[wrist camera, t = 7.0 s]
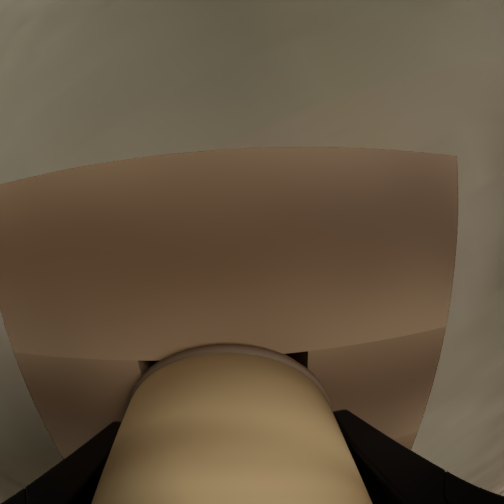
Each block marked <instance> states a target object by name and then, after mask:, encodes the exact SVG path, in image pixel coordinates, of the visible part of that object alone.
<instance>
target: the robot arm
mask: <svg viewBox="0 0 504 504" xmlns="http://www.w3.org/2000/svg"><path fill="white" fill-rule="evenodd" d="M333 414H334V417H335V419H336V421H337V423H338V426H339V428H340V430H341V433H342V435H343V437H344V439H345V442H346V444H347V446H348V448H349V451H350V453H351V455H352V458H353V460H354V462H355V464H356V467H357V469H358V471H359V474H360V476H361V478H362V481H363V483H364V485H365V487H366V490H367V492H368V494H369V497H370V499H371V501H372V504H504V496H501V495H498V494H495V493H492V492H489V491H487V490H484V489H482V488H479V487H477V486H475V485H472V484H470V483H468V482H466V481H464V480H462V479H460V478H458V477H456V476H455V475H453V474H451V473H449V472H445V470H444V469H442V468H440V467H438V466H437V465H435V464H433V463H431V462H430V461H428V460H426V459H425V458H423V457H421V456H419V455H418V454H416V453H414V452H413V451H411V450H409V449H408V448H406V447H405V446H403V445H401V444H400V443H398V442H396V441H395V440H393V439H392V438H390V437H388V436H387V435H385V434H384V433H382V432H381V431H379V430H377V429H376V428H374V427H373V426H371V425H370V424H368V423H367V422H365V421H364V420H362V419H361V418H359V417H358V416H356V415H355V414H353V413H352V412H350V411H349V410H346V409H343V410H337V411H333ZM121 423H122V422H121V421H114V422H112V423H111V424H109V425H108V426H107V427H105V428H104V429H103V430H102V431H100V432H99V433H98V434H96V435H95V436H94V437H93V438H91V439H90V440H89V441H87V442H86V443H85V444H83V445H82V446H81V447H80V448H78V449H77V450H76V451H74V452H73V453H72V454H70V455H69V456H68V457H66V458H65V459H64V460H62V461H61V462H60V463H58V464H57V465H56V466H54V467H53V468H51V469H50V470H49V471H47V472H46V473H45V474H43V475H42V476H40V477H39V478H38V479H36V480H35V481H34V482H32V483H31V484H29V485H28V486H26V489H22V490H21V491H19V492H18V493H16V494H15V495H13V496H12V497H10V498H9V499H7V500H6V501H4V502H3V503H1V504H91V503H92V500H93V498H94V495H95V492H96V489H97V486H98V483H99V481H100V478H101V475H102V472H103V470H104V467H105V464H106V462H107V459H108V456H109V454H110V451H111V448H112V446H113V443H114V441H115V438H116V435H117V433H118V430H119V428H120V425H121Z"/></svg>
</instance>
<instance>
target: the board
mask: <svg viewBox="0 0 504 504" xmlns="http://www.w3.org/2000/svg"><path fill="white" fill-rule="evenodd" d="M457 226H458V165H457V156H451V155H443V154H434V153H424V152H413V151H400V150H385V149H367V148H339V147H275V148H247V149H228V150H213V151H200V152H188V153H177V154H168V155H159V156H150V157H142V158H134V159H127V160H120V161H113V162H107V163H100V164H94V165H88V166H83V167H77V168H72V169H67V170H61V171H56V172H52V173H47V174H42V175H38V176H33V177H29V178H25V179H20V180H16V181H12V182H8V183H4V184H0V310H1V313H2V317H3V320H4V324H5V327H6V331H7V334H8V337H9V340H10V343H11V346H12V349H13V352H14V355H15V357H16V360H17V363H18V366H19V368H20V371H21V373H22V376H23V378H24V381H25V383H26V386H27V388H28V390H29V393H30V395H31V397H32V399H33V402H34V404H35V406H36V408H37V410H38V412H39V414H40V416H41V418H42V420H43V422H44V424H45V426H46V428H47V430H48V432H49V434H50V436H51V438H52V439H53V441H54V443H55V445H56V447H57V448H58V450H59V452H60V454H61V455H62V457H63V459H65V458H66V457H68V456H69V455H70V454H72V453H73V452H74V451H76V450H77V449H78V448H80V447H81V446H82V445H83V444H85V443H86V442H87V441H89V440H90V439H91V438H93V437H94V436H95V435H96V434H98V433H99V432H100V431H102V430H103V429H104V428H105V427H107V426H108V425H109V424H111V423H112V422H114V421H121V422H122V420H123V418H124V415H125V413H126V407H127V404H128V400H129V397H130V395H131V393H132V391H133V389H134V387H135V385H136V383H137V381H138V380H139V379H140V377H141V376H142V375H143V374H144V373H145V372H146V371H147V370H148V369H149V368H150V367H151V366H153V365H154V364H156V363H157V362H159V361H160V360H162V359H163V358H165V357H167V356H169V355H171V354H173V353H175V352H177V351H180V350H183V349H186V348H189V347H193V346H197V345H202V344H209V343H218V342H236V343H246V344H253V345H257V346H262V347H266V348H269V349H272V350H275V351H278V352H280V353H282V354H287V356H289V357H291V358H292V359H294V360H296V361H297V362H299V363H300V364H302V365H303V366H305V367H306V368H307V369H308V370H309V371H310V372H312V373H313V374H314V375H315V377H316V378H317V379H318V380H319V381H320V383H321V384H322V386H323V388H324V389H325V391H326V393H327V395H328V398H329V400H330V403H331V406H332V410H333V411H337V410H343V409H346V410H349V411H350V412H352V413H353V414H355V415H356V416H358V417H359V418H361V419H362V420H364V421H365V422H367V423H368V424H370V425H371V426H373V427H374V428H376V429H377V430H379V431H381V432H382V433H384V434H385V435H387V436H388V437H390V438H392V439H393V440H395V441H396V442H398V443H400V444H401V445H403V446H405V447H406V448H408V449H409V450H411V448H412V446H413V443H414V440H415V438H416V435H417V432H418V429H419V427H420V424H421V421H422V418H423V415H424V412H425V409H426V405H427V402H428V399H429V396H430V392H431V389H432V385H433V381H434V378H435V374H436V370H437V366H438V362H439V358H440V353H441V349H442V344H443V339H444V335H445V329H446V324H447V318H448V313H449V306H450V300H451V293H452V285H453V277H454V268H455V257H456V244H457Z"/></svg>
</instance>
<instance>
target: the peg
mask: <svg viewBox="0 0 504 504" xmlns="http://www.w3.org/2000/svg"><path fill="white" fill-rule="evenodd" d="M91 504H372V501H371V499H370V497H369V494H368V492H367V490H366V487H365V485H364V483H363V481H362V478H361V476H360V474H359V471H358V469H357V467H356V464H355V462H354V460H353V458H352V455H351V453H350V451H349V448H348V446H347V444H346V442H345V439H344V437H343V435H342V433H341V430H340V428H339V426H338V423H337V421H336V419H335V417H334V414H333V410H332V406H331V403H330V400H329V398H328V395H327V393H326V391H325V389H324V388H323V386H322V384H321V383H320V381H319V380H318V379H317V378H316V377H315V375H314V374H313V373H312V372H310V371H309V370H308V369H307V368H306V367H305V366H303V365H302V364H300V363H299V362H297V361H296V360H294V359H292V358H291V357H289V356H287V355H285V354H282V353H280V352H278V351H275V350H272V349H269V348H266V347H262V346H257V345H253V344H246V343H236V342H218V343H209V344H202V345H197V346H193V347H189V348H186V349H183V350H180V351H177V352H175V353H173V354H171V355H169V356H167V357H165V358H163V359H162V360H160V361H159V362H157V363H156V364H154V365H153V366H151V367H150V368H149V369H148V370H147V371H146V372H145V373H144V374H143V375H142V376H141V377H140V379H139V380H138V381H137V383H136V385H135V387H134V389H133V391H132V393H131V395H130V397H129V400H128V404H127V407H126V413H125V415H124V418H123V420H122V423H121V425H120V428H119V430H118V433H117V435H116V438H115V441H114V443H113V446H112V448H111V451H110V454H109V456H108V459H107V462H106V464H105V467H104V470H103V472H102V475H101V478H100V481H99V483H98V486H97V489H96V492H95V495H94V498H93V500H92V503H91Z"/></svg>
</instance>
